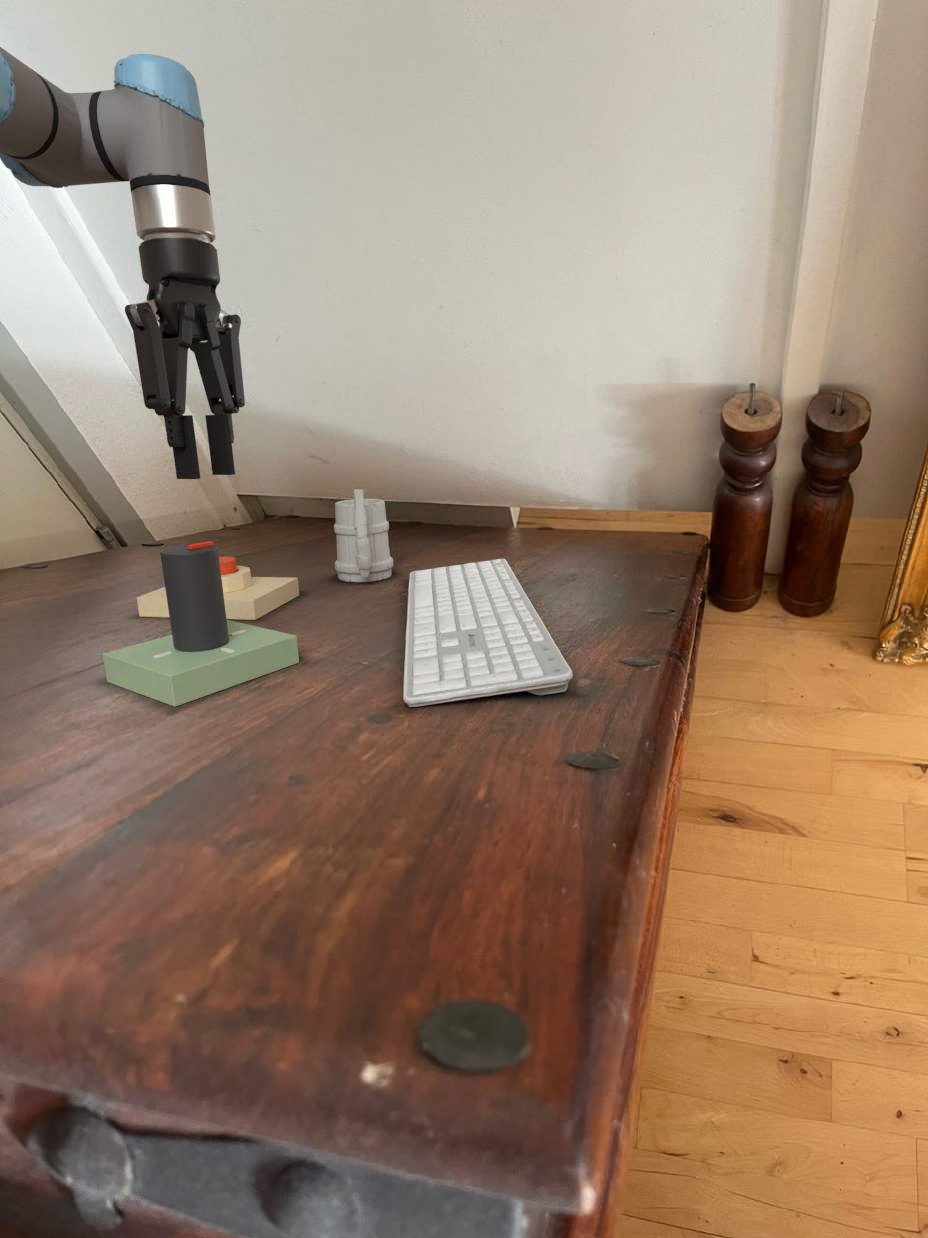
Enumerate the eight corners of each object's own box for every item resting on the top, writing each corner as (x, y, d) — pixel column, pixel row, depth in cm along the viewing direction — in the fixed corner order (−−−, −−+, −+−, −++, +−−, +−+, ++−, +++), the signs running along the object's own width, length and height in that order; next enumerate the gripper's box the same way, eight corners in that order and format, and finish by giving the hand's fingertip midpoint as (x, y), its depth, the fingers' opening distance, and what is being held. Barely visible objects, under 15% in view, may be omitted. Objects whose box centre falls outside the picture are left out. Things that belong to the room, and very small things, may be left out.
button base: (139, 616, 82) (133, 581, 81) (194, 593, 92) (190, 561, 91) (255, 620, 79) (251, 583, 78) (299, 595, 89) (296, 562, 88)
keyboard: (409, 579, 96) (408, 561, 95) (505, 575, 96) (505, 557, 96) (402, 710, 53) (400, 679, 53) (574, 701, 54) (575, 670, 53)
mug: (392, 569, 102) (387, 480, 99) (397, 588, 91) (391, 489, 88) (336, 572, 102) (329, 483, 98) (334, 592, 90) (325, 492, 87)
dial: (193, 655, 59) (179, 552, 57) (163, 646, 62) (148, 547, 60) (239, 640, 63) (228, 543, 60) (209, 633, 65) (196, 539, 63)
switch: (193, 578, 83) (191, 563, 83) (212, 571, 87) (210, 556, 86) (225, 579, 82) (223, 563, 82) (243, 571, 86) (242, 556, 86)
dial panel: (106, 682, 61) (101, 651, 61) (230, 644, 71) (226, 617, 70) (174, 707, 55) (169, 673, 55) (299, 662, 65) (296, 633, 64)
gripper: (214, 260, 85) (238, 469, 91) (75, 231, 70) (115, 484, 76) (265, 252, 81) (286, 470, 87) (130, 219, 66) (167, 484, 73)
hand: (206, 476), depth 82 cm, fingers open, 4 cm apart
